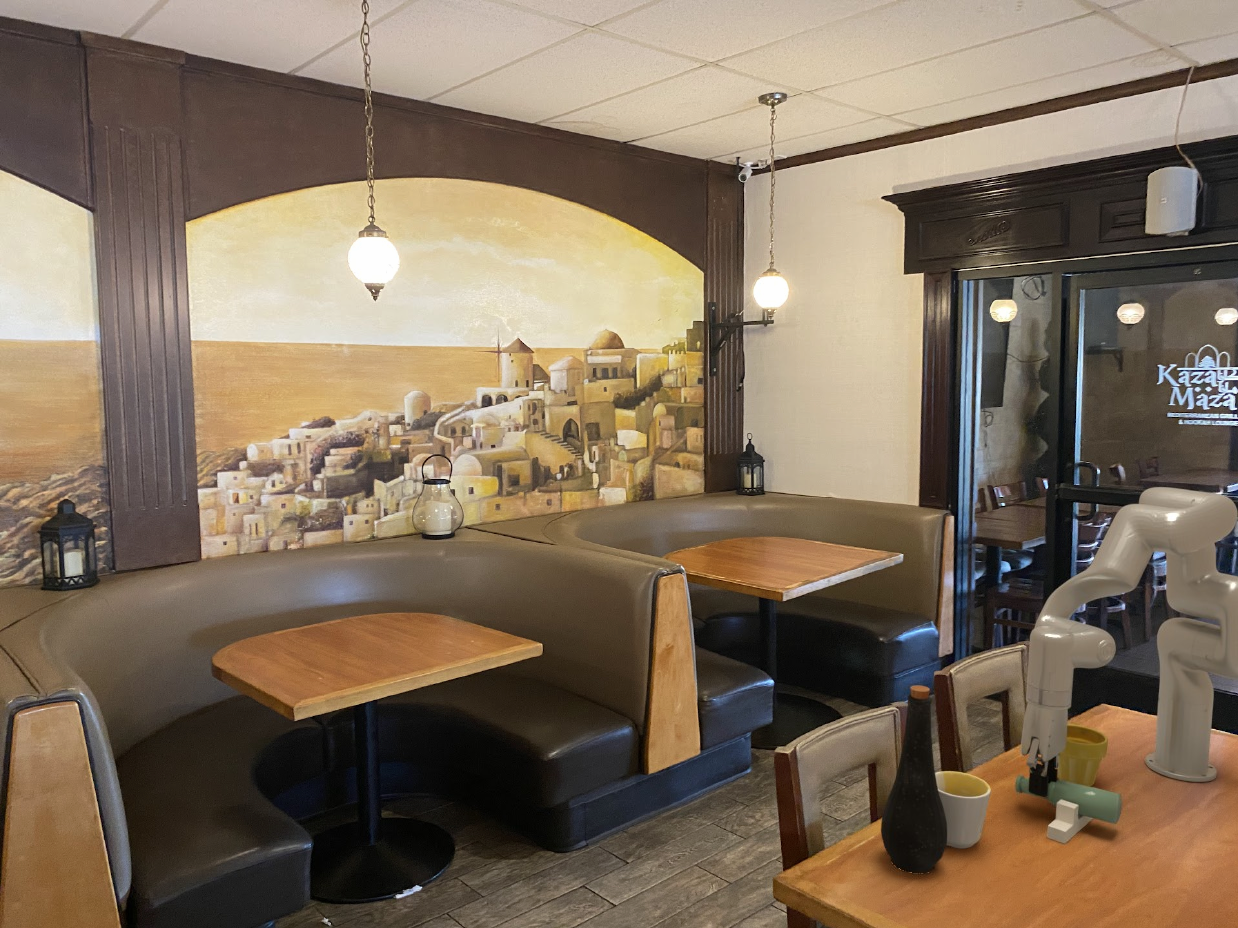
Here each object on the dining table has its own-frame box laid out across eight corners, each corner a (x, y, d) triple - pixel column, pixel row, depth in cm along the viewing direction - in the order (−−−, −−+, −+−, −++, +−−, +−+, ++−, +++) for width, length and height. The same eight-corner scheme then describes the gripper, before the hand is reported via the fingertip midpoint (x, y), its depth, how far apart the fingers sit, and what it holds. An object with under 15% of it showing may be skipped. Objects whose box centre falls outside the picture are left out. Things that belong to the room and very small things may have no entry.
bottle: (950, 883, 150) (958, 702, 147) (882, 875, 152) (889, 696, 149) (941, 849, 161) (949, 680, 157) (877, 843, 163) (883, 675, 160)
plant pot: (1116, 790, 184) (1120, 742, 183) (1068, 793, 182) (1071, 744, 181) (1083, 767, 194) (1086, 722, 193) (1037, 770, 193) (1039, 724, 192)
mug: (962, 861, 157) (965, 801, 156) (913, 835, 165) (915, 778, 164) (1012, 840, 164) (1015, 782, 163) (963, 816, 173) (965, 761, 172)
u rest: (1084, 804, 178) (1086, 778, 177) (1101, 810, 175) (1103, 783, 175) (1047, 837, 165) (1048, 809, 165) (1064, 843, 163) (1066, 815, 162)
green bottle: (1120, 820, 167) (1022, 794, 178) (1122, 791, 167) (1023, 767, 178) (1112, 826, 163) (1012, 800, 174) (1114, 796, 163) (1014, 771, 175)
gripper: (1045, 680, 180) (1039, 771, 182) (1009, 700, 169) (1003, 797, 171) (1086, 690, 175) (1080, 784, 177) (1051, 711, 164) (1045, 812, 165)
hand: (1042, 789), depth 174 cm, fingers closed on green bottle, 3 cm apart
